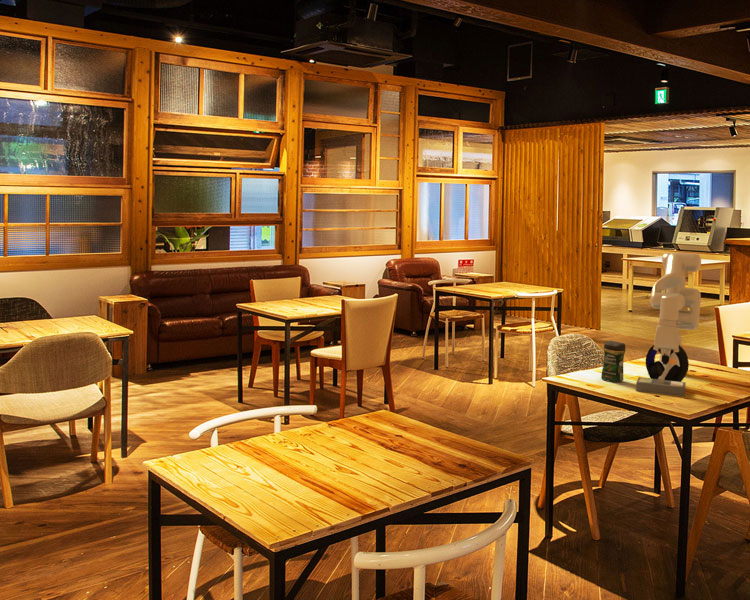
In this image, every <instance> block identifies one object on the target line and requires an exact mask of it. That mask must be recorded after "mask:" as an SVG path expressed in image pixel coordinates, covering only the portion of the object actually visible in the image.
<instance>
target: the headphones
mask: <svg viewBox="0 0 750 600" xmlns="http://www.w3.org/2000/svg"><path fill="white" fill-rule="evenodd" d="M653 348H654V344H653V345H652V346H651V347H650V348H649V349H648V351H647V353H646V356H645V368H646V371H647V373H648V376H649V378H651V379H658V378H659V376H661V375H662V374H663V372H664V370H665V368H664V366H663V364H662V363H661V362H660V361H659V360H656V361H655V359H656V355H657V353H658V351H656V350H654V349H653ZM660 349H661V348H660ZM671 350H672V349H671ZM675 354H676V355H677V357H678V359H679V366H678V365H674V366H673V367H672V368H671V369H670V370H669V372H668V373H667V375H666V377H665V379H664V380H668V381H677V382H683V380H684V379H685V377H686V375H687V374H688V371H689V367H690V366H689V365H690V363H689V357H688V355H687V352H686V350H685V349H684V348H683V347H682V345H681V346H680V345H679V352H675Z"/></svg>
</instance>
